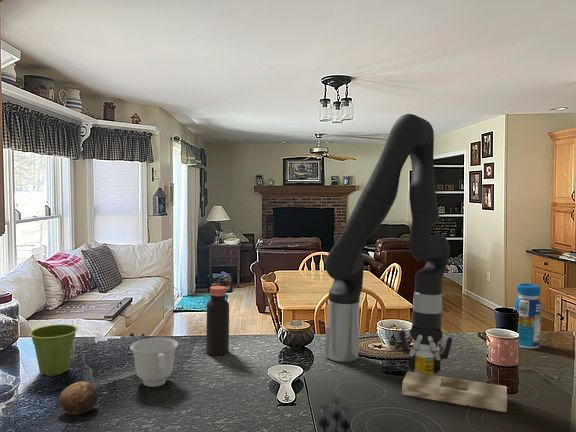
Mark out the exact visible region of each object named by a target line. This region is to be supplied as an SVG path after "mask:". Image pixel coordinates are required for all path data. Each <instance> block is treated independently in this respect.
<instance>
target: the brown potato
mask: <svg viewBox="0 0 576 432" xmlns="http://www.w3.org/2000/svg"><path fill="white" fill-rule="evenodd" d="M98 398H99V396H98V391H97V389H96V387H95V386H94V385H93V384H92V383H91V382H89V381H77V382H74V383H72V384H69V386H67V387H66V388H64V389H63V390H62V391H61V393H60V396H59V397H58V402H59V407H61V409H62V410H63V411H64V412H65V413H68V414H70V415H80V414H81V415H82V414H84V413H87V412H89V411H91V410H92V409H93V408H94V407H95V405H96V404H97V402H98V401H97V400H98Z"/></svg>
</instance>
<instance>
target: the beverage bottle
mask: <svg viewBox="0 0 576 432" xmlns="http://www.w3.org/2000/svg"><path fill="white" fill-rule="evenodd" d="M516 287H517V288H516V289H517V290H516V293H517V295H518V297H516V299H515V301H514V304H513V305H514V309H513V311H514V310H517V312H518V313H519V318H518V319H519V322H518V332H519V346H518V347H519V348H523V349H529V350H530V349H532V350H533V349H538V348H539V347H540V346H541V345H540V344H541V327H542V317H543V314H542V311H541V310H542V309H543V307H542V302H541V301H540V299H539V297H540V296H541V286H540V285H538V284H535V283H534V284H532V283H526V282H525V283H518V284H517V286H516Z"/></svg>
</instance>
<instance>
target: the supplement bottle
mask: <svg viewBox="0 0 576 432" xmlns="http://www.w3.org/2000/svg"><path fill="white" fill-rule="evenodd" d="M434 368H435V355H434V353H433V351H432V348H431V345H426V344H419V346H418V348H417V350H416V352H415V369H414V370H413V372H416V373H423V374H430V375H435V373H434Z"/></svg>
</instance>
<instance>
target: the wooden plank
mask: <svg viewBox="0 0 576 432" xmlns="http://www.w3.org/2000/svg"><path fill="white" fill-rule="evenodd" d="M401 384H402V385H401V387H402V388H401V395H403V396H408V397H409V396H410V397H416V398H421V399H426V400H433V401H438V402H443V403H450V404H456V405H460V406H461V405H462V406H467V405H469V406H468V407H472V408H477V409H478V408H479V409H484V408H485V410H491V411H497V412H502V413H507V411H508V390H507V389H508V388H507V387H508V386H506V385H502V384H493V383H486V382H482V381H481V382H480V381H474V380H467V379H461V378H454V377H449V376H442V375H437V374H436V375H430V374H423V373H416V372H414V371H410V370H407V371H406V373H405V376H404V378H403V379H402V383H401Z"/></svg>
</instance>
